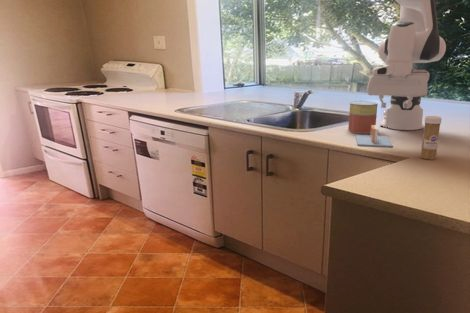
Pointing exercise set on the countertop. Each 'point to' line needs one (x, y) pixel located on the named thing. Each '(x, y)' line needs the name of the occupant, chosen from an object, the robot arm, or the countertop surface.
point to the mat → (366, 141)
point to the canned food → (362, 116)
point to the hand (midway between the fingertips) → (394, 107)
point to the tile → (374, 133)
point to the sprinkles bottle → (430, 137)
